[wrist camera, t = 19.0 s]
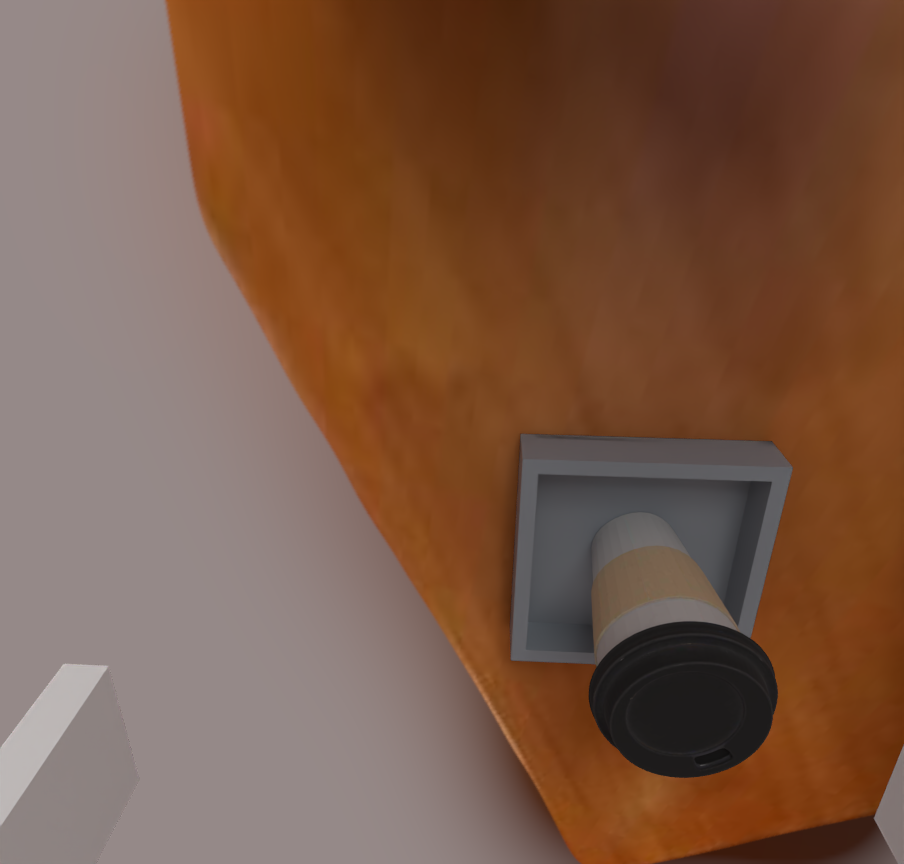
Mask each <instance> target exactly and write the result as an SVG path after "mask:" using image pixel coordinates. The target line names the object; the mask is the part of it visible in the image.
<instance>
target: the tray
mask: <svg viewBox="0 0 904 864" xmlns="http://www.w3.org/2000/svg"><path fill="white" fill-rule="evenodd" d="M792 469H793V467H792V466H791V465H790V463H789V462H788V461H787V460H786V458H785V457H784V456H783V455H782V453H781V452H780V451H779V450H778V448H777V447H776V446H775V445H774V443H773V442H772V441H743V440H709V439H676V438H643V437H609V436H576V435H543V434H521V435H520V453H519V471H518V489H517V506H516V524H515V542H514V560H513V578H512V595H511V613H510V650H511V660H513V661H535V662H558V663H581V664H595V656H594V639H593V619H592V599H591V590H592V585H593V572H592V551H591V547H592V542H593V539H594V537H595V535H596V534H597V532H598V531H599V530H600V529H601V528H602V527H603V526H604V525H605V524H607V523H608V522H610V521H611V520H613V519H615V518H617V517H619V516H622V515H625V514H629V513H635V512H645V513H650V514H654V515H656V516H658V517H660V518H662V519H663V520H664V521H666V522H667V523H668V524H669V525H670V527H671V528H672V529H673V530H674V532H675V533H676V535H677V536H678V538H679V540H680V541H681V543H682V544H683V546H684V547H685V549H686V551H687V552H688V554H689V555H690V557H691V558H692V559H693V560H694V561H695V562H696V563H697V564H698V566H699V567H700V568H701V570H702V571H703V573H704V574H705V576H706V577H707V579H708V581H709V582H710V584H711V585H712V587H713V588H714V590H715V592H716V593H717V595H718V596H719V598H720V599H721V601H722V603H723V604H724V606H725V607H726V609H727V610H728V612H729V613H730V615H731V617H732V618H733V620H734V621H735V623H736V624H737V626H738V629H739V631H740V633H742V634H744V635H746V636H747V637H749V638H751V634H752V630H753V626H754V622H755V618H756V614H757V610H758V606H759V602H760V598H761V594H762V590H763V586H764V582H765V578H766V574H767V570H768V566H769V562H770V558H771V554H772V550H773V546H774V542H775V538H776V534H777V530H778V526H779V522H780V518H781V514H782V510H783V506H784V502H785V497H786V493H787V489H788V485H789V481H790V477H791V473H792Z"/></svg>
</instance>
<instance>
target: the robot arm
mask: <svg viewBox="0 0 904 864" xmlns="http://www.w3.org/2000/svg"><path fill="white" fill-rule="evenodd" d="M138 782H139V776H138V772H137V769H136V765H135V762H134V758H133V754H132V750H131V747H130V743H129V739H128V736H127V732H126V728H125V724H124V720H123V717H122V713H121V710H120V706H119V702H118V698H117V695H116V691H115V687H114V684H113V680H112V676H111V672H110V669H109V666H99V665H79V664H63V666H62V667H61V668H60V670H59V671H58V672H57V673H56V675H55V676H54V678H53V679H52V680H51V682H50V683H49V684H48V685H47V687H46V688H45V690H44V691H43V692H42V693H41V695H40V696H39V697H38V699H37V700H36V701H35V703H34V704H33V705H32V707H31V708H30V709H29V711H28V712H27V713H26V715H25V716H24V717H23V719H22V720H21V721H20V723H19V724H18V725H17V727H16V728H15V729H14V730H13V732H12V733H11V734H10V736H9V737H8V739H7V740H6V741H5V742H4V744H3V745H2V746H1V748H0V864H96V863H97V861H98V859H99V857H100V855H101V853H102V851H103V849H104V847H105V846H106V844H107V842H108V840H109V838H110V836H111V834H112V832H113V830H114V828H115V826H116V824H117V822H118V820H119V818H120V817H121V815H122V813H123V811H124V809H125V807H126V805H127V803H128V801H129V799H130V797H131V795H132V793H133V791H134V789H135V787H136V786H137V784H138ZM874 820H875V821H876V823H877V825H878V827H879V829H880V831H881V833H882V835H883V837H884V838H885V840H886V842H887V844H888V846H889V848H890V850H891V852H892V854H893V855H894V857H895V859H896V861H897V863H898V864H904V746H903V748H902V751H901V753H900V756H899V758H898V760H897V763H896V765H895V768H894V770H893V773H892V775H891V778H890V780H889V783H888V785H887V788H886V790H885V792H884V795H883V797H882V800H881V802H880V805H879V807H878V810H877V812H876V815H875V817H874Z"/></svg>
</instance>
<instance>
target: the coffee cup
mask: <svg viewBox="0 0 904 864" xmlns="http://www.w3.org/2000/svg"><path fill="white" fill-rule="evenodd" d="M591 551H592V572H593V585H592V590H591V599H592V619H593V639H594V656H595V664H596V667H597V668H596V669H595V671H594V673H593V676H592V679H591V682H590V686H589V703H590V708H591V711H592V713H593V716H594V718H595V720H596V723H597V725H598V727H599V729H600V731H601V732H602V734H603V735H604V737H605V738H606V739H607V740H608V741H609V742H610V743H611V744H612V745H613V746H614V747H616V748H617V749H618V750H619V751H620V752H621V754H622V755H623V756H624V757H625V758H626V759H627V760H629V761H630V762H631V763H633V764H634V765H636V766H638V767H640V768H642V769H644V770H646V771H649V772H652V773H655V774H658V775H663V776H669V777H679V778H688V777H700V776H706V775H711V774H715V773H718V772H721V771H724V770H727V769H729V768H731V767H733V766H735V765H737V764H739V763H741V762H742V761H744V760H745V759H747V758H748V757H749V756H751V755H752V754H753V753H754V752H755V751H756V750H757V749H758V748H759V747H760V746H761V745H762V743H763V742H764V741H765V739H766V737H767V735H768V734H769V731H770V728H771V725H772V719H773V714H774V711H775V708H776V704H777V698H778V690H777V683H776V679H775V674H774V670H773V667H772V664H771V662H770V660H769V658H768V656H767V655H766V653H765V652H764V651H763V650H762V648H761V647H760V646H759V645H758V644H757V643H755V642H754V641H753V640H752V639H750V638H749V637H747V636H746V635H744V634H742V633H740V631H739V629H738V626H737V624H736V623H735V621H734V620H733V618H732V617H731V615H730V613H729V612H728V610H727V609H726V607H725V606H724V604H723V603H722V601H721V599H720V598H719V596H718V595H717V593H716V592H715V590H714V588H713V587H712V585H711V584H710V582H709V581H708V579H707V577H706V576H705V574H704V573H703V571H702V570H701V568H700V567H699V566H698V564H697V563H696V562H695V561H694V560H693V559H692V558H691V557H690V555H689V554H688V552H687V551H686V549H685V547H684V546H683V544H682V543H681V541H680V540H679V538H678V536H677V535H676V533H675V532H674V530H673V529H672V528H671V527H670V525H669V524H668V523H667V522H666V521H664V520H663V519H662V518H660V517H658V516H656V515H654V514H650V513H645V512H635V513H629V514H625V515H622V516H619V517H617V518H615V519H613V520H611V521H610V522H608V523H607V524H605V525H604V526H603V527H602V528H601V529H600V530H599V531H598V532H597V534H596V535H595V537H594V539H593V542H592V547H591Z"/></svg>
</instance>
